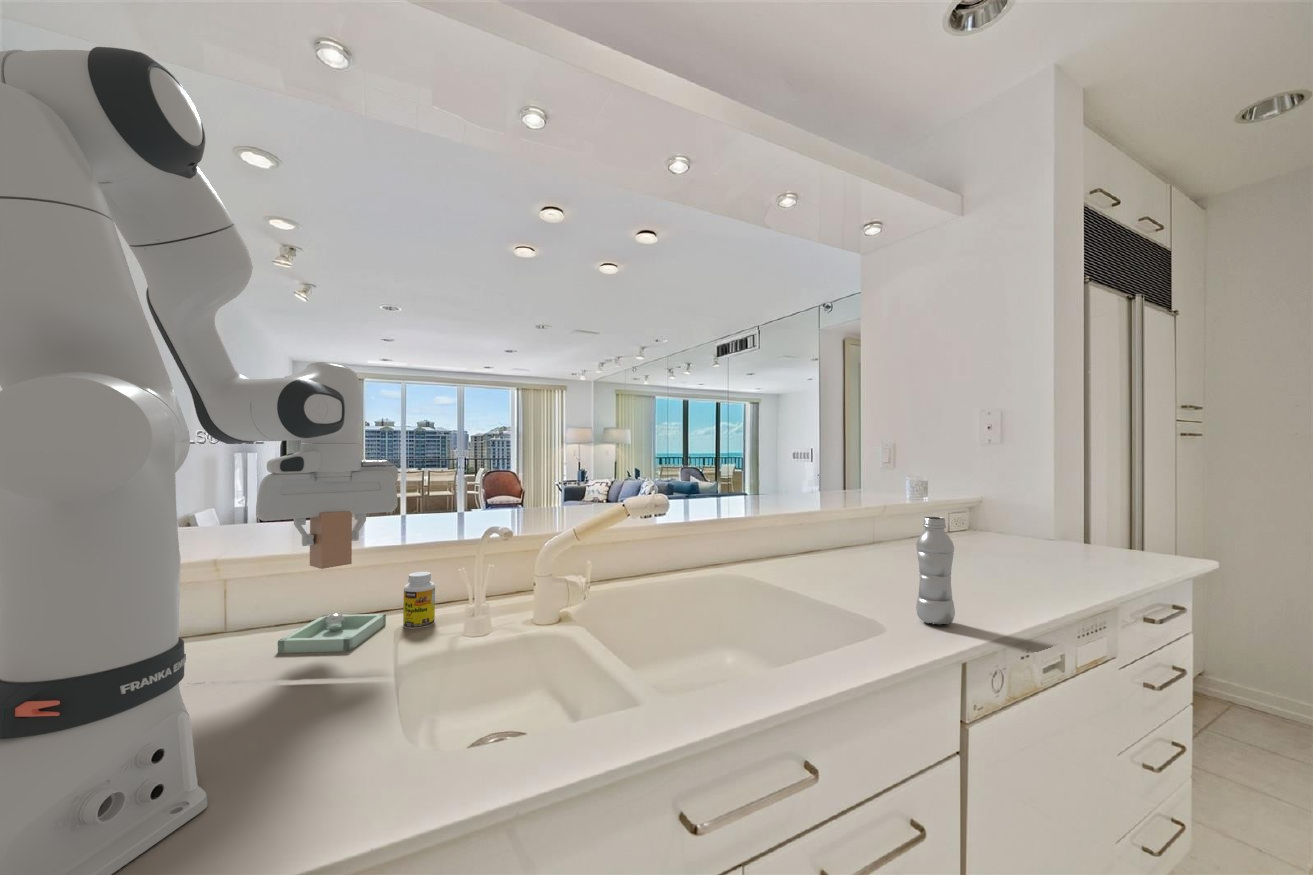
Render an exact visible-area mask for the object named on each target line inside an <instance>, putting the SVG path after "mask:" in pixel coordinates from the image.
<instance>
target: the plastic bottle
mask: <svg viewBox="0 0 1313 875" xmlns="http://www.w3.org/2000/svg"><path fill="white" fill-rule="evenodd" d="M922 527H923V528H924V530H923V532H922V533H921V534H920V535H919V537H918V538H917V541H916V544H915V546H916V553H917V555H916V556H917V561H918V569H919V570H918V572H919V582H918V583H919V585H918V596H917V600H916V605H915V608H916V615H917V617H918V619H919V620H920V619H921V620H922V621H921V620H920V621H921V622H923V621H924V623H927V624H929V623H934V624H948V625H950V624H949V623H951V624H952V623H953V622H954V620H955V617H956V616H955V614H956V610H955V608H956V607H955V603H954V600H953V592H952V570H953V569H952V566H953V560H954V552H955V546H954V542H953V540H952V539H951V537H950V536H949V535H948V534H947V533H946V531H945V529H946V528H947V525H946V518H945V517H939V516H924V517H923V526H922ZM934 624H933V625H934Z"/></svg>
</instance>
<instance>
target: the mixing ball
mask: <svg viewBox="0 0 1313 875" xmlns="http://www.w3.org/2000/svg"><path fill="white" fill-rule="evenodd" d="M329 615H330V616H328V617H327V619H326V621H325V627H326V628H327V629H328V630H329V631H337V630H339V629H340V628H342V626H343V625H344V622H345V619H344V617H343V616H342V615H343V614H341V613H337V612H335V613H331V614H329Z"/></svg>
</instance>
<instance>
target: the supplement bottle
mask: <svg viewBox="0 0 1313 875" xmlns="http://www.w3.org/2000/svg"><path fill="white" fill-rule="evenodd" d="M402 610H403V616H402V619H403V620H402V623H403V624H402V626H403V627H404V628H405V629H421V628H426V627H429V626H431V625H434V623H435V619H436V616H435V614H436V613H435V612H436V584H435V582H433V581H432V574H431V572H430V571H415V572H412V573H409V574H408V583H406V584H405V585H404V587H403V609H402Z"/></svg>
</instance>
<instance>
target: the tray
mask: <svg viewBox="0 0 1313 875" xmlns="http://www.w3.org/2000/svg"><path fill="white" fill-rule="evenodd" d="M330 615H331V614H323V615H322V616H320V617H318V618H316V619H314V620H313V621H311V622H308V623H307V624H305V625H304V626H301V627H300V628H298V629H296V630H295V631H293V632H291V633H289V634H287V635H286V636H283V637H282V638H280V639H279V640H277V654H287V653H288V654H295V653H297V654H300V653H332V652H333V653H335V652H336V653H337V652H338V653H339V652H351V651H353V649H355V648H357V647H358V646H359V645H360V644H361V643H363V642H364V641H366V640H367V639H368V638H370V637H371V636H372V635H374V634H375V633H376V632H378V631H379V630H380V629H382V628H383V627H384V626H386V624H387V620H386V619H387V613H368V614H367V613H363V614H362V613H361V614H354V613H353V614H341V615H342V616H343V617H344V619H345V622H344V625H343V626H342V628H340V629H339V630H337V631H329V630H328V629H327V628H326V627H325V621H326V619H327V617H328V616H330Z"/></svg>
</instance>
